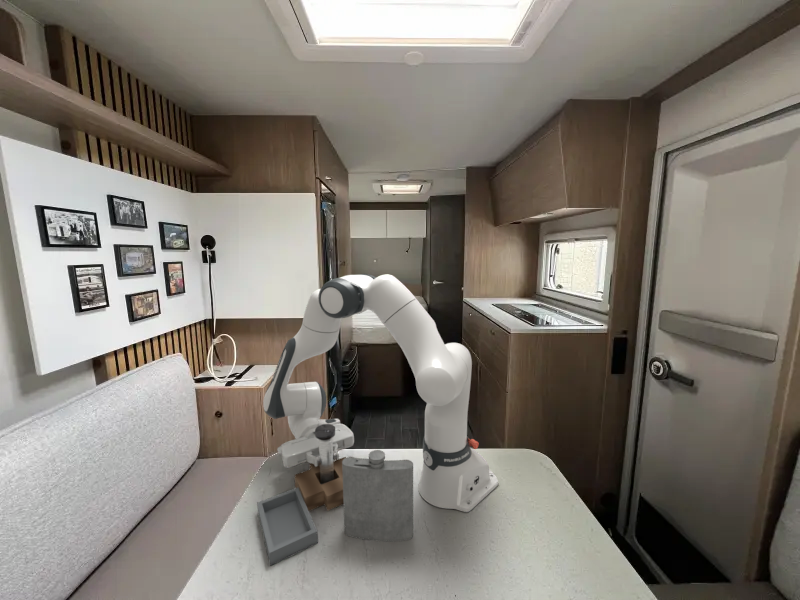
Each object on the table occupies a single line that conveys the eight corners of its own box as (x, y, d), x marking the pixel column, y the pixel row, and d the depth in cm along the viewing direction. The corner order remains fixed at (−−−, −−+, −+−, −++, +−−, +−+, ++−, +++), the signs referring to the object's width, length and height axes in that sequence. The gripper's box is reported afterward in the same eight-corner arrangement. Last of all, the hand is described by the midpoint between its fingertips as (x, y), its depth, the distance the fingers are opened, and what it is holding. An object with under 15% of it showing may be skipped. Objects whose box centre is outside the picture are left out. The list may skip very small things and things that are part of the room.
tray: (298, 497, 86) (298, 487, 85) (317, 543, 72) (317, 531, 72) (257, 513, 80) (257, 502, 80) (270, 565, 67) (269, 553, 66)
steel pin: (333, 479, 92) (331, 422, 90) (340, 491, 88) (338, 430, 85) (315, 486, 89) (312, 427, 87) (321, 498, 85) (318, 436, 83)
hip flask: (413, 528, 76) (413, 449, 73) (412, 544, 72) (412, 461, 69) (346, 524, 77) (343, 446, 74) (341, 539, 73) (339, 457, 70)
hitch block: (342, 464, 99) (342, 452, 98) (364, 495, 86) (363, 481, 86) (293, 482, 91) (292, 469, 90) (308, 519, 78) (307, 504, 78)
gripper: (275, 436, 92) (286, 462, 81) (342, 417, 103) (361, 437, 91) (276, 456, 93) (288, 485, 82) (343, 435, 104) (362, 458, 92)
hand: (327, 460), depth 87 cm, fingers closed on steel pin, 4 cm apart
